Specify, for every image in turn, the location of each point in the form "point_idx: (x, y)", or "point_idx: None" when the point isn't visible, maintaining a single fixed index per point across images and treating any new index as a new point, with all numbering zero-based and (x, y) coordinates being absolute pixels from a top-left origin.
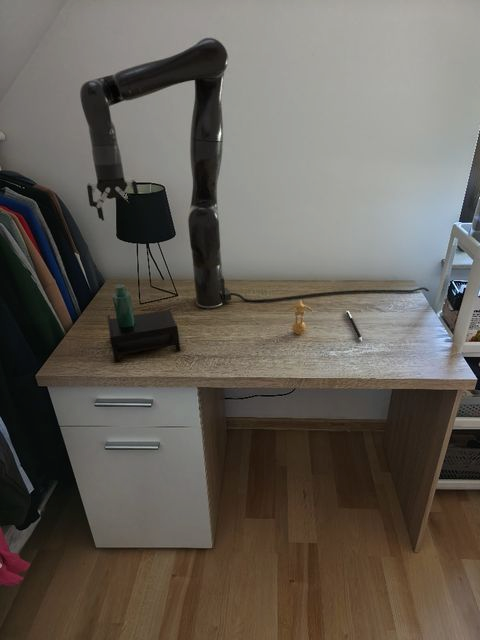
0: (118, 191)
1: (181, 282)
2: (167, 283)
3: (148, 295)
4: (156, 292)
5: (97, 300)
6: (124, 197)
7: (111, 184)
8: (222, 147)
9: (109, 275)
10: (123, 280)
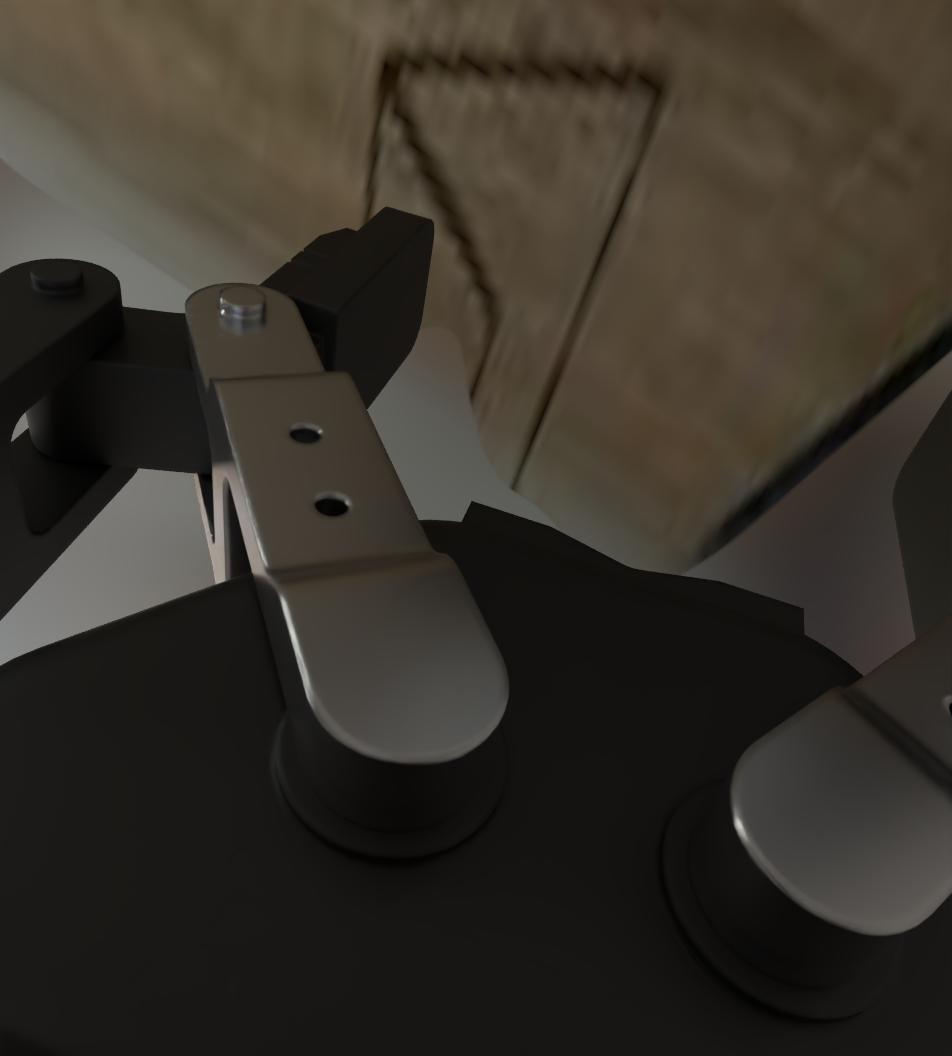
0: (421, 577)
1: None
2: None
3: (560, 194)
4: (497, 207)
5: (883, 330)
6: (337, 400)
7: (563, 1005)
8: None
9: None
10: (609, 492)
